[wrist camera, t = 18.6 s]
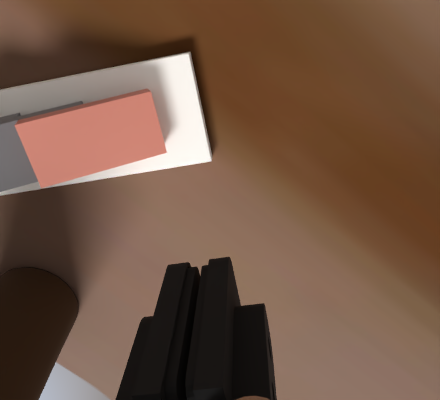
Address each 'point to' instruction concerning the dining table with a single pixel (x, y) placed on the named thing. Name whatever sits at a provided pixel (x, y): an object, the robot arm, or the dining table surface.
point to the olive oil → (32, 329)
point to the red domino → (91, 137)
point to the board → (121, 84)
